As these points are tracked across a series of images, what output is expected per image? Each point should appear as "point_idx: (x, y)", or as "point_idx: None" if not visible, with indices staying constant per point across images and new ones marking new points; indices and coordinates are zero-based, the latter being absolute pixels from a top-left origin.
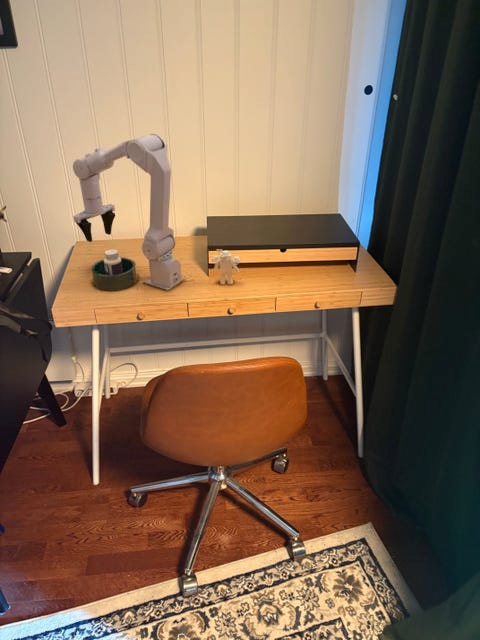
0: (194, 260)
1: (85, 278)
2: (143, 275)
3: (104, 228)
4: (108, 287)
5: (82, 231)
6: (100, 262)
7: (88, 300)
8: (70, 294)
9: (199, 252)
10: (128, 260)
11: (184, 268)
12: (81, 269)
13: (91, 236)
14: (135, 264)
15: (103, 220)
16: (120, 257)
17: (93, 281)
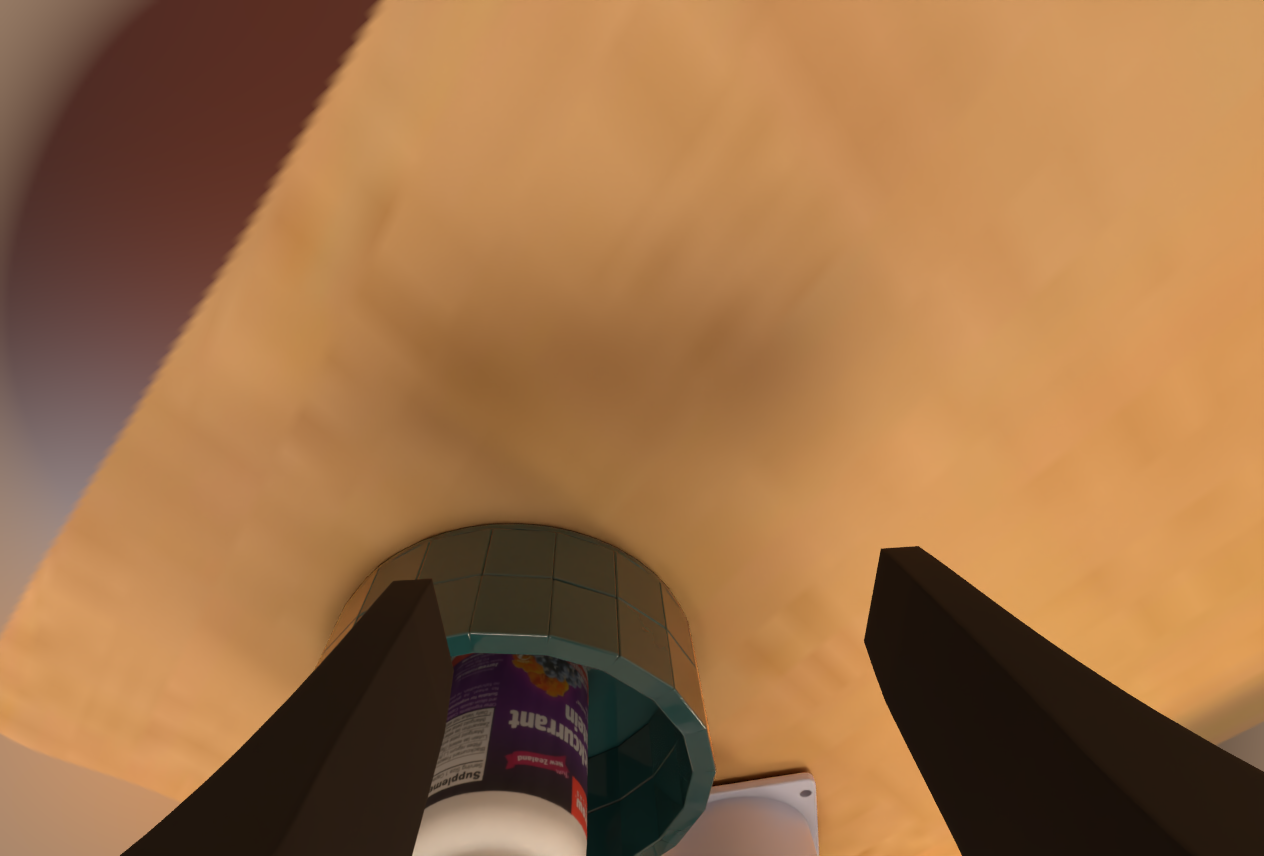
0: None
1: (326, 480)
2: (719, 720)
3: (941, 608)
4: None
5: (235, 760)
6: (459, 650)
7: (205, 749)
8: (99, 619)
9: (1259, 711)
10: (690, 767)
11: None
12: (380, 274)
13: (419, 796)
14: (668, 850)
15: (1096, 819)
16: (680, 700)
17: (339, 618)
